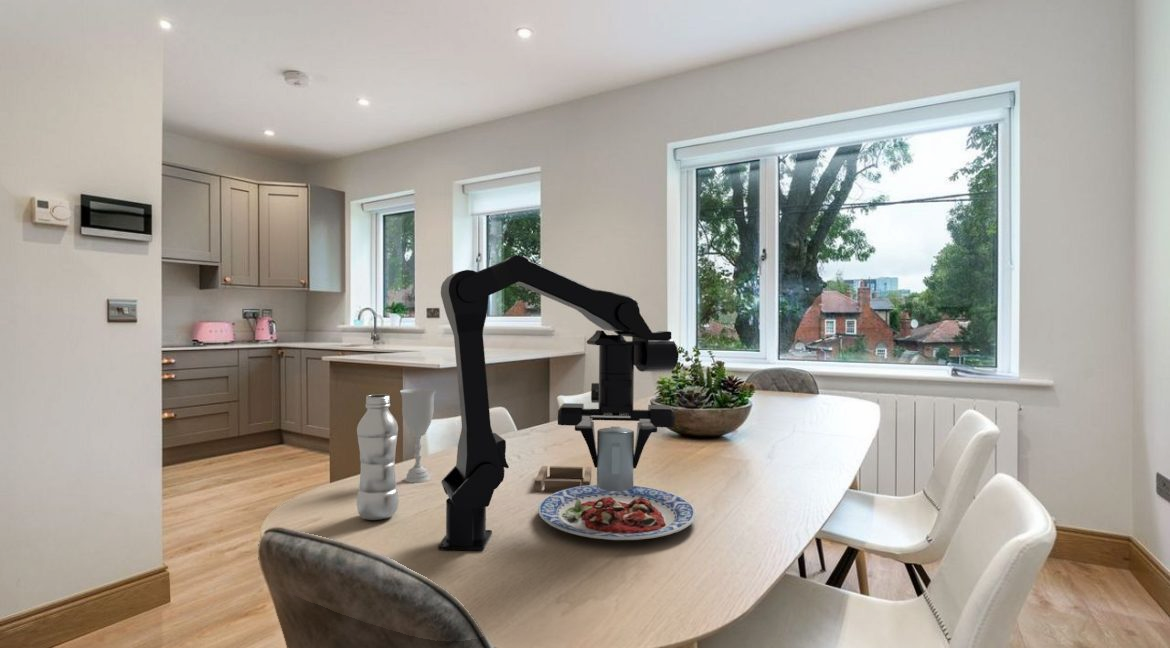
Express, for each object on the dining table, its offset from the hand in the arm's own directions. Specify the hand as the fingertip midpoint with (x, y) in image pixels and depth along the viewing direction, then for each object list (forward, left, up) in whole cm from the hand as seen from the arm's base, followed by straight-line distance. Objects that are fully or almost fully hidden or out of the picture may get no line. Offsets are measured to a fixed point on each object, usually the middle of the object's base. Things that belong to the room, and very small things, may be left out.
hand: (615, 467), depth 92 cm
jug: (0, 0, -3) cm, 3 cm away
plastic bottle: (-2, +39, -9) cm, 40 cm away
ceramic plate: (0, 0, -9) cm, 9 cm away
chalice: (+20, +40, -9) cm, 45 cm away
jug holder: (+19, +10, -9) cm, 23 cm away
